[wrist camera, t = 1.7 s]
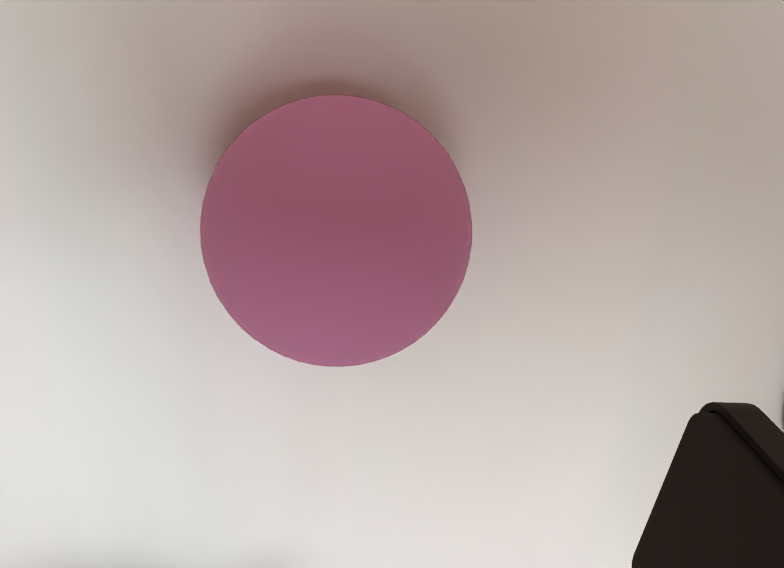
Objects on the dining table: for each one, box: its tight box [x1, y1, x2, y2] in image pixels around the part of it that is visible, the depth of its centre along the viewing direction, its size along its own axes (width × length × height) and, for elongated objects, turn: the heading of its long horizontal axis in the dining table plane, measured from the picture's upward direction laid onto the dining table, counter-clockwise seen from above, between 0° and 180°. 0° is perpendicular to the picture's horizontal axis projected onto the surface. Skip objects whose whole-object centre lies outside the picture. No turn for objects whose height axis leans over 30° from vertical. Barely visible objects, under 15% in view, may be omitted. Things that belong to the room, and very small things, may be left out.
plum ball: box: [200, 95, 472, 366], centre depth 17 cm, size 6×6×6 cm
